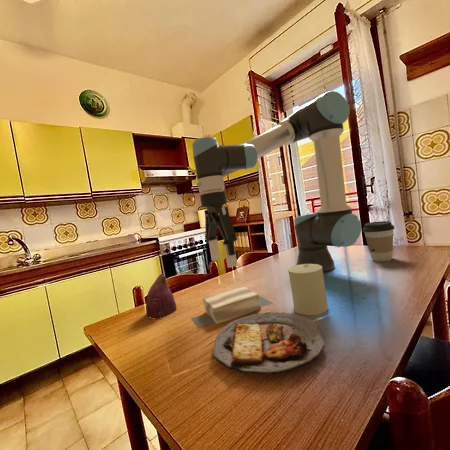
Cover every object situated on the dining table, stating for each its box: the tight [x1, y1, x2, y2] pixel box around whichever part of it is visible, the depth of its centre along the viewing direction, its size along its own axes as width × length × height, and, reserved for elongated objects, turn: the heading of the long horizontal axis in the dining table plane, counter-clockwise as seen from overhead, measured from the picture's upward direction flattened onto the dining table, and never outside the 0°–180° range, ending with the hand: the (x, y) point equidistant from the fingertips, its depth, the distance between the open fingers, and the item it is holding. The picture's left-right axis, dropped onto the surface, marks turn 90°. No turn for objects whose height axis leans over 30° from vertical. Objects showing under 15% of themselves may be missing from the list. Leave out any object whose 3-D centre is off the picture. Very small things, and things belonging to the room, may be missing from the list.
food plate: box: [212, 311, 325, 375], centre depth 58 cm, size 25×23×4 cm
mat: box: [190, 295, 273, 329], centre depth 78 cm, size 8×24×1 cm, turn 111°
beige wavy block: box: [202, 286, 262, 325], centre depth 78 cm, size 10×14×4 cm
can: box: [287, 264, 329, 316], centre depth 71 cm, size 9×9×12 cm
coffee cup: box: [362, 220, 395, 262], centre depth 105 cm, size 11×11×15 cm
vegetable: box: [145, 272, 178, 319], centre depth 87 cm, size 10×10×15 cm
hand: (223, 263), depth 77 cm, fingers open, 13 cm apart
